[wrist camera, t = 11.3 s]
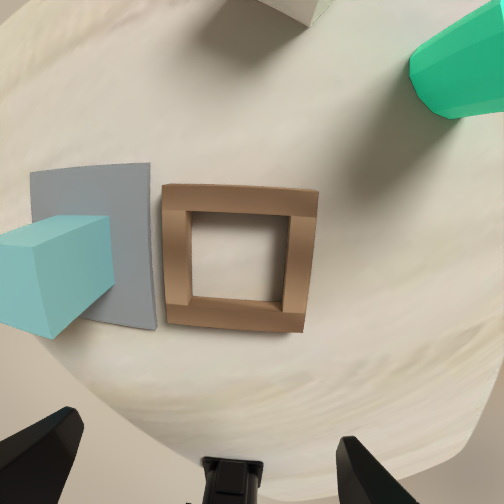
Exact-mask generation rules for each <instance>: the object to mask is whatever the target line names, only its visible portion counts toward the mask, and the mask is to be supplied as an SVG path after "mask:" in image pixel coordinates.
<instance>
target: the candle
mask: <svg viewBox="0 0 504 504" xmlns="http://www.w3.org/2000/svg"><path fill="white" fill-rule="evenodd" d="M409 77H410V79H411V82H412V84H413V86H414V88H415V91H416V93H417V95H418V97H419V98H420V99H421V100H422V101H423V102H424V104H425V105H426V106H427V107H428V108H429V109H430V110H431V111H432V112H433V113H435V114H438V115H440V116H443V117H445V118H448V119H455V118H461V117H467V116H474V115H480V114H487V113H495V112H503V111H504V0H491V1H490V2H488V3H486V4H485V5H483V6H481V7H480V8H478V9H476V10H475V11H473V12H471V13H470V14H468V15H466V16H465V17H463V18H462V19H460V20H458V21H457V22H455V23H454V24H452V25H451V26H449V27H448V28H446V29H444V30H443V31H441V32H440V33H438V34H437V35H435V36H434V37H432V38H431V39H429V40H428V41H426V42H425V43H424V44H422V45H421V46H419V47H418V48H417V49H416V51H415V52H414V53H413V55H412V56H411V57H410V69H409Z"/></svg>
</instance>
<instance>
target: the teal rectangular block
mask: <svg viewBox="0 0 504 504" xmlns="http://www.w3.org/2000/svg"><path fill="white" fill-rule="evenodd" d="M114 284H115V281H114V272H113V262H112V251H111V237H110V220H109V216H91V215H56V216H53V217H50V218H47V219H44V220H41V221H38V222H35V223H32V224H29V225H26V226H23V227H20V228H18V229H15V230H12V231H9V232H7V233H4V234H1V235H0V323H3V324H6V325H9V326H12V327H14V328H17V329H20V330H23V331H26V332H29V333H32V334H35V335H38V336H42V337H45V338H48V339H52V340H53V339H54V338H55V337H56V336H57V335H58V334H59V333H60V332H61V331H62V330H64V329H65V328H66V327H67V326H68V325H69V324H70V323H71V322H72V321H73V320H74V319H75V318H77V317H78V316H79V315H80V314H81V313H82V312H83V311H84V310H85V309H87V308H88V307H89V306H90V305H91V304H92V303H93V302H94V301H96V300H97V299H98V298H99V297H100V296H101V295H102V294H104V293H105V292H106V291H107V290H108V289H109V288H110V287H112V286H113V285H114Z"/></svg>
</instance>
